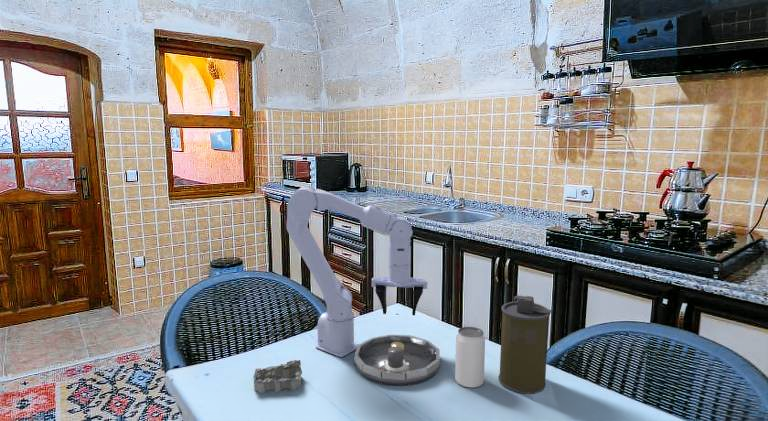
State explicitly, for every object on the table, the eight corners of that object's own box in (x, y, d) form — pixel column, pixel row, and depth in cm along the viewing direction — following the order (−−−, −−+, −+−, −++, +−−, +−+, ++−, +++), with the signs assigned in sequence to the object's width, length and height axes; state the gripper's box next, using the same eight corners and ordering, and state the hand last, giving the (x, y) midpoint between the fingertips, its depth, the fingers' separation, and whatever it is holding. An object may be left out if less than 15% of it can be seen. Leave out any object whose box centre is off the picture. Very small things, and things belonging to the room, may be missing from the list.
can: (483, 390, 102) (485, 338, 100) (454, 387, 103) (455, 336, 101) (483, 375, 108) (485, 327, 106) (455, 372, 109) (456, 324, 107)
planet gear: (383, 375, 104) (383, 357, 104) (380, 362, 111) (380, 345, 110) (411, 374, 105) (411, 355, 104) (406, 361, 111) (406, 343, 111)
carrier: (338, 368, 111) (337, 348, 111) (388, 338, 128) (388, 321, 127) (409, 395, 99) (409, 374, 99) (454, 359, 116) (454, 340, 115)
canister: (495, 388, 102) (498, 302, 99) (501, 367, 112) (504, 288, 109) (547, 398, 98) (552, 309, 95) (548, 375, 108) (553, 293, 105)
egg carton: (302, 375, 109) (302, 358, 108) (301, 392, 101) (300, 374, 101) (256, 377, 107) (256, 361, 107) (251, 395, 100) (250, 377, 99)
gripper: (369, 266, 116) (369, 317, 118) (427, 268, 115) (426, 320, 117) (373, 259, 123) (373, 308, 125) (427, 261, 122) (427, 310, 124)
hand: (399, 313), depth 121 cm, fingers open, 7 cm apart
